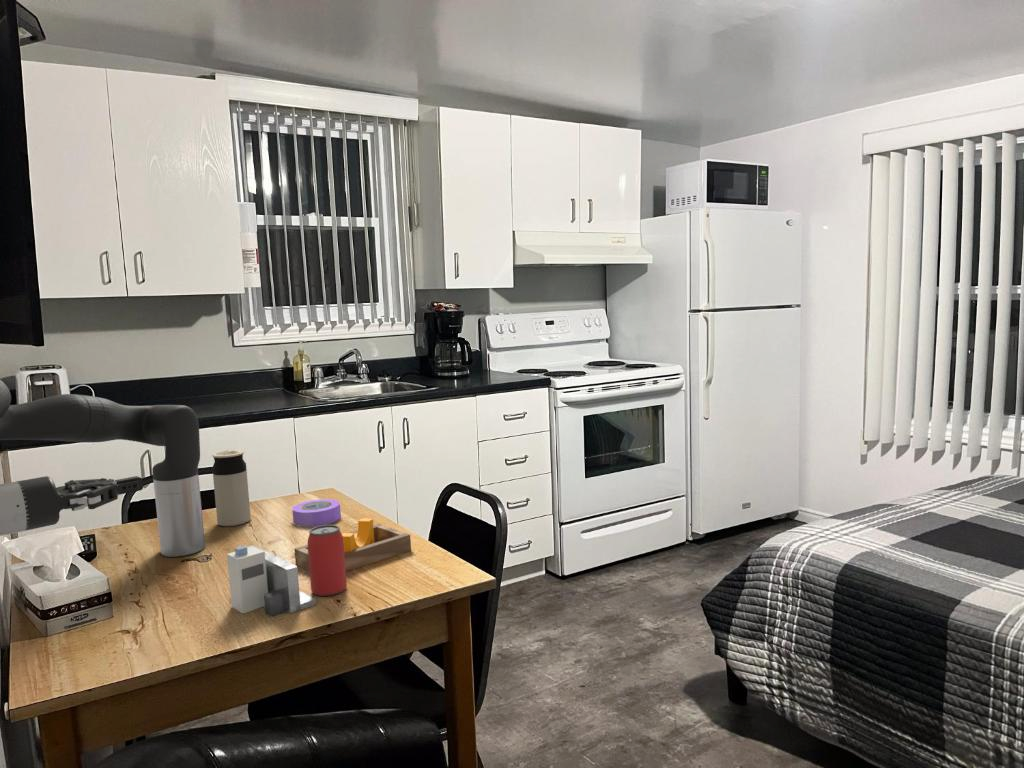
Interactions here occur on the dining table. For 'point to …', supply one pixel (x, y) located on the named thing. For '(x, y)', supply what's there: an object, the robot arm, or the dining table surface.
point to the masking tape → (316, 512)
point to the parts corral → (367, 549)
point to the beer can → (326, 560)
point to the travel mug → (231, 488)
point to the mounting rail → (283, 587)
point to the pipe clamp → (359, 535)
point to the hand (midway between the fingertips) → (141, 482)
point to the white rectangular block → (247, 578)
